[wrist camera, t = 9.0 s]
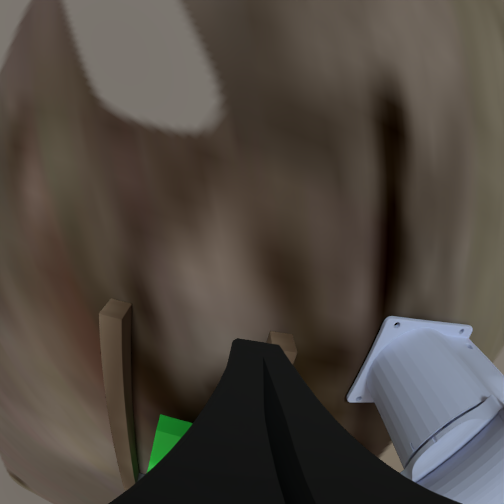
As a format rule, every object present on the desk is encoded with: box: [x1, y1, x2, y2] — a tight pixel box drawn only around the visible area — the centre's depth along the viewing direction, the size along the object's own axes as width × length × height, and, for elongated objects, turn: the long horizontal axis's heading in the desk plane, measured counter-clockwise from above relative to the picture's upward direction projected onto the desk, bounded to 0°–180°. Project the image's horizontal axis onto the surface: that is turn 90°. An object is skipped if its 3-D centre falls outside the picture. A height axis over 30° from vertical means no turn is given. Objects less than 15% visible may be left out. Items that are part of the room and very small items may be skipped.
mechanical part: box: [147, 414, 193, 472], centre depth 20 cm, size 12×6×8 cm, turn 161°
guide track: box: [99, 299, 297, 490], centre depth 21 cm, size 12×25×3 cm, turn 168°
